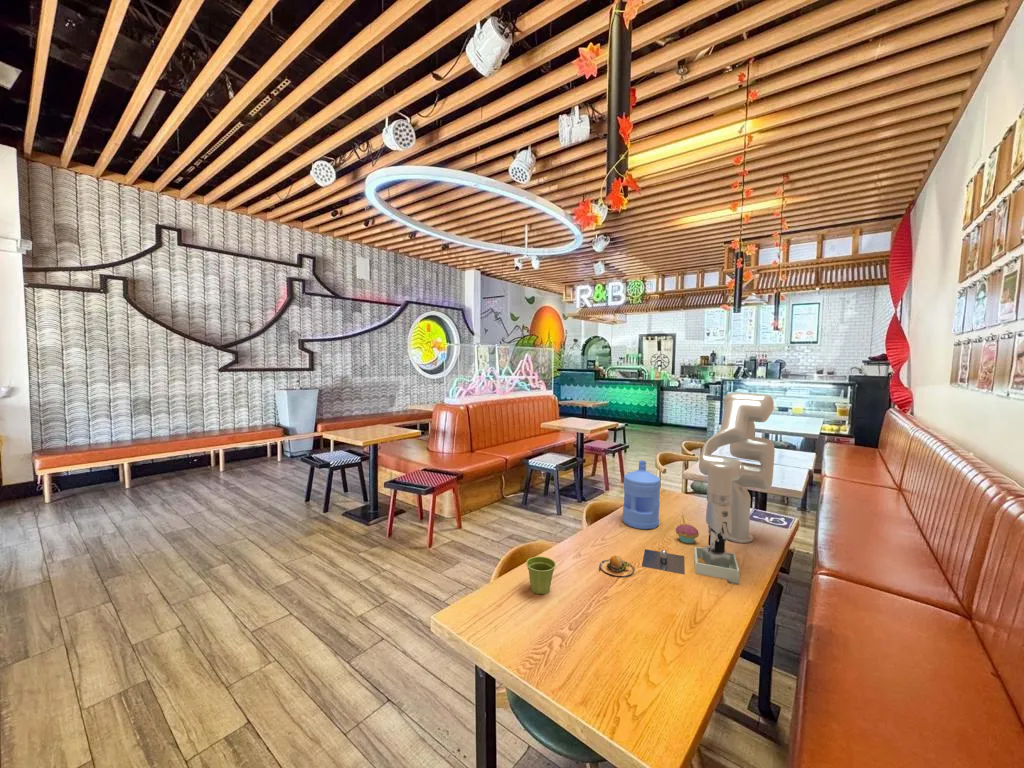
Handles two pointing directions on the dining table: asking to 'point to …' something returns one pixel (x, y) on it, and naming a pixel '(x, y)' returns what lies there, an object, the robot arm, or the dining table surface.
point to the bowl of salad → (616, 565)
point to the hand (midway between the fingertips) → (716, 548)
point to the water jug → (641, 498)
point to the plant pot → (540, 573)
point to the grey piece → (715, 553)
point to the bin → (717, 568)
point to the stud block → (664, 561)
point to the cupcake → (686, 532)
